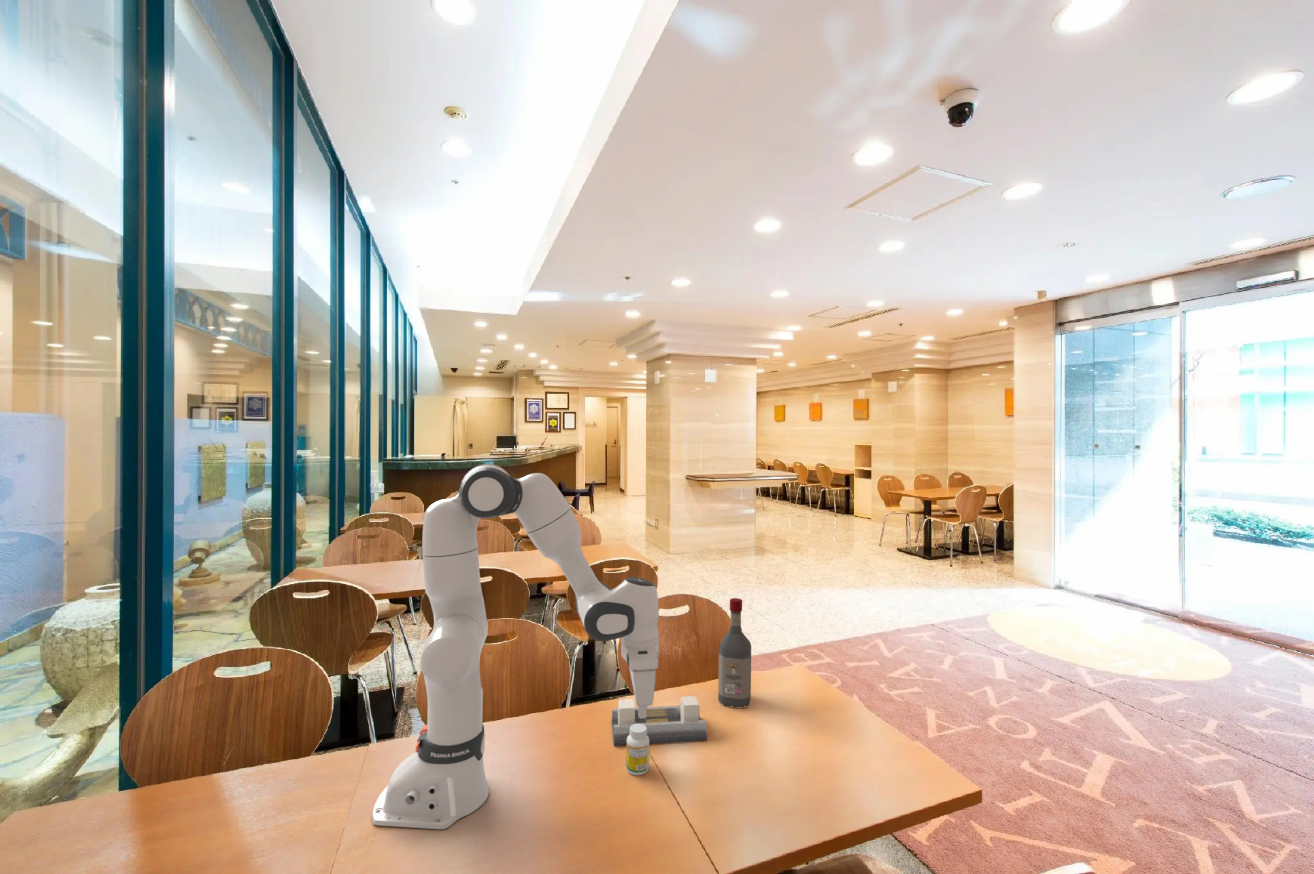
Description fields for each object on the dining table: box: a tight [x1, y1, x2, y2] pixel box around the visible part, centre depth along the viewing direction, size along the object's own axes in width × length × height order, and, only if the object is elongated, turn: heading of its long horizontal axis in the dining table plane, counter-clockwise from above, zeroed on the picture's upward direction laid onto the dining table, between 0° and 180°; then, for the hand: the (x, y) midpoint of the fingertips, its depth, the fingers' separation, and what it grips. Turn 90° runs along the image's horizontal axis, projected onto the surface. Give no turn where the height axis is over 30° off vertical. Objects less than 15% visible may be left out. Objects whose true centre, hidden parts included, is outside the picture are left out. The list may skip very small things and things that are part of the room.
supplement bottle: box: [625, 724, 650, 776], centre depth 125 cm, size 5×5×10 cm
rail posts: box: [617, 695, 700, 725], centre depth 142 cm, size 21×5×6 cm, turn 98°
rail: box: [611, 704, 708, 747], centre depth 142 cm, size 24×12×4 cm, turn 98°
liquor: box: [717, 597, 752, 708], centre depth 159 cm, size 9×9×30 cm
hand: (640, 706), depth 125 cm, fingers open, 8 cm apart
